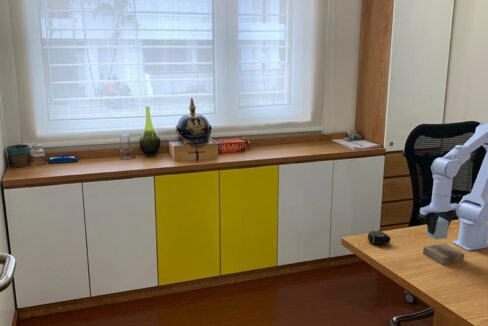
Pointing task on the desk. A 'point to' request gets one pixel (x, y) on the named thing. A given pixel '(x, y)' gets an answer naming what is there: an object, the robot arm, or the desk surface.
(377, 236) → the tape measure
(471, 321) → the desk surface
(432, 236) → the grey block
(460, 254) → the walnut base
